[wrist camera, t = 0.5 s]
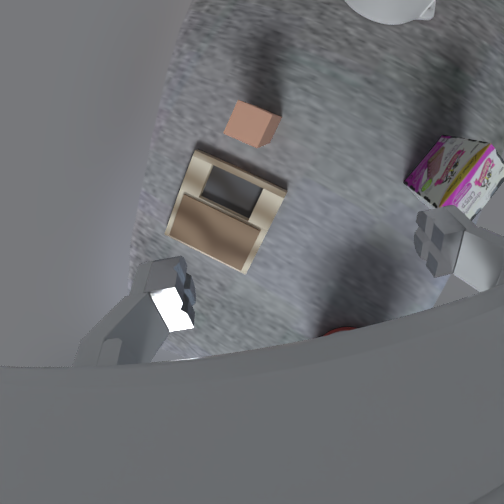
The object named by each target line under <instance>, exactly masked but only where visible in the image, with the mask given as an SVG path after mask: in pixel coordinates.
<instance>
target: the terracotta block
mask: <svg viewBox="0 0 504 504" xmlns="http://www.w3.org/2000/svg"><path fill="white" fill-rule="evenodd" d="M281 118H282V117H280V116H278V115H276V114H274V113H271V112H269V111H267V110H265V109H262V108H260V107H258V106H255V105H252V104H249V103H246V102H243V101H240V100H238V101H237V103H236V106H235V108H234V110H233V112H232V114H231V117H230V119H229V121H228V123H227V126H226V128H225V130H224V134H226V135H228V136H231V137H233V138H235V139H237V140H240V141H242V142H244V143H246V144H249V145H251V146H253V147H255V148H259V147H261V146H264V145H266V144H268V143H270V141H271V139H272V137H273V135H274V133H275V131H276V129H277V127H278V125H279V123H280V120H281Z"/></svg>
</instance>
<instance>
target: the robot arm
mask: <svg viewBox="0 0 504 504" xmlns="http://www.w3.org/2000/svg"><path fill="white" fill-rule="evenodd" d="M345 2H346V3H347V4H348V5H349V6H350V7H351V8H352V9H353V10H354V11H356V12H357V13H359V14H360V15H362V16H364V17H365V18H367V19H370V20H372V21H375V22H378V23H382V24H390V25H397V24H403V23H407V22H409V21H412V20H416V19H418V20H431V19H432V18H433V16H434V12H435V4H436V0H345ZM428 8H429V9H428ZM416 223H417V224H418V226H419V227H418V229H417V230H416V232H415V235H414V244H415V249H416V251H417V254H418V255H419V256H420V258H422V259H424V260H426V261H427V263H426V266H427V268H428V269H429V271H430V272H431V273H432V275H433V276H434V278H436V277H440V276H444V275H448V274H452V273H454V275H455V276H457V277H458V278H460V279H461V280H463V281H464V282H466V283H468V284H469V285H470V286H472V287H473V288H475V289H476V290H478V291H479V292H480V293H477V294H474V295H471V296H469V297H465V298H462V299H459V300H456V301H453V302H450V303H447V304H444V305H441V306H438V307H434V308H431V309H428V310H424V311H421V312H417V313H414V314H411V315H407V316H403V317H400V318H396V319H392V320H389V321H385V322H381V323H377V324H373V325H370V326H366V327H361V328H357V329H353V330H349V331H345V332H340V333H336V334H332V335H327V336H322V337H318V338H313V339H308V340H303V341H298V342H293V343H288V344H283V345H277V346H272V347H266V348H260V349H254V350H248V351H241V352H235V353H228V354H221V355H214V356H206V357H198V358H190V359H181V360H172V361H162V362H152V363H150V362H151V360H152V359H153V357H154V356H155V354H156V353H157V351H158V350H159V348H160V347H161V345H162V344H163V342H164V341H165V340H166V338H167V337H168V335H169V334H170V331H176V330H182V329H188V328H194V317H195V312H194V309H193V307H192V306H193V305H194V304H195V303H196V292H195V286H194V282H193V279H192V277H191V275H189V274H188V273H186V271H187V264H186V262H185V259H184V257H182V256H177V257H172V258H166V259H160V260H155V261H149V262H144V263H141V264H139V266H138V268H137V271H136V275H135V278H134V281H133V284H132V287H131V291H130V294H129V296H125V297H124V298H123V299H122V300H121V301H120V302H119V303H118V304H117V305H116V306H115V307H114V308H113V309H112V310H111V311H110V312H109V313H108V314H107V315H106V316H105V317H104V318H103V319H102V320H101V321H100V322H99V323H98V324H97V325H96V326H95V327H94V328H93V329H92V330H91V331H90V332H89V333H88V334H87V335H86V336H85V337H84V338H83V339H82V340H81V341H80V344H79V347H78V350H77V353H76V356H75V359H74V363H73V366H72V367H10V366H0V504H504V236H501V235H499V234H497V233H494V232H492V231H490V230H487V229H485V228H482V227H477V226H476V225H475V224H474V223H473V222H472V221H471V220H470V219H469V218H468V217H467V216H466V215H465V214H464V213H463V212H462V211H461V210H459V209H458V208H457V207H456V206H455V205H448V206H444V207H440V208H435V209H430V210H425V211H420V212H418V215H417V219H416Z"/></svg>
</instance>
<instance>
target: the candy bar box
mask: <svg viewBox="0 0 504 504" xmlns="http://www.w3.org/2000/svg"><path fill="white" fill-rule="evenodd" d="M503 182H504V161H503V159H502V158H501V156H500V155H499V154H498V152H497V150H496V149H495V148H494V146H493V145H492V144H491V143H487V142H482V141H477V140H471V139H465V138H459V137H452V136H446V135H442V136H441V138H440V139H439V140H438V141H437V143H436V144H435V145H434V146H433V148H432V149H431V150H430V151H429V153H428V154H427V155H426V156H425V157H424V159H423V160H422V161H421V162H420V164H419V165H418V166H417V167H416V168H415V169H414V171H413V172H412V173H411V174H410V175H409V177H408V178H407V179H406V180H405V181H404V184H405V185H406V186H407V187H408V188H409V189H410V190H411V191H412V192H413V193H414V195H415V196H416V197H417V198H418V199H419V200H420V201H421V202H422V203H423V204H425V205H426V206H427V207H428V208H429V209H435V208H440V207H444V206H448V205H455V206H456V207H457V208H458V209H459V210H461V211H462V212H463V213H464V214H465V215H466V216H467V217H468V218H469V219H470V220H471V221H472V220H473V219H474V218H475V216H476V215H477V214H478V213H479V212H480V210H481V209H482V208H483V207H484V206H485V204H486V203H487V202H488V200H489V199H490V198H491V197H492V196H493V195H494V193H495V192H496V191H497V189H498V188H499V187H500V185H501V184H502V183H503Z"/></svg>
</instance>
